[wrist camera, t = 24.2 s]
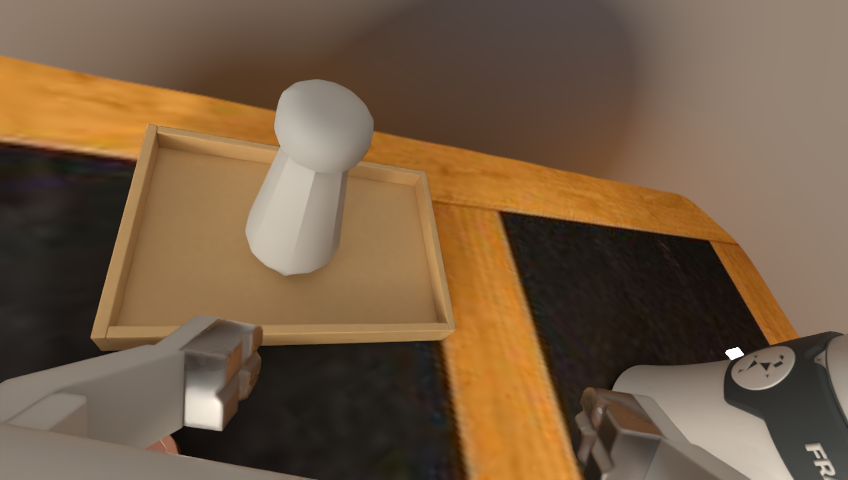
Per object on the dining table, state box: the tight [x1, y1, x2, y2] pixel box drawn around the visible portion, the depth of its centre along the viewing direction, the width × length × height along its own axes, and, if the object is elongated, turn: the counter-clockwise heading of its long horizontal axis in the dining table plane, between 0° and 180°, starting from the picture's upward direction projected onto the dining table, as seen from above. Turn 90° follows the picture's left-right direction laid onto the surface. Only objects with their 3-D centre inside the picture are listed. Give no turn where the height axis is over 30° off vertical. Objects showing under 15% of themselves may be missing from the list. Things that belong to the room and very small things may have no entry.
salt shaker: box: [245, 79, 374, 276], centre depth 22 cm, size 6×6×13 cm
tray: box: [91, 124, 456, 351], centre depth 27 cm, size 20×14×2 cm
